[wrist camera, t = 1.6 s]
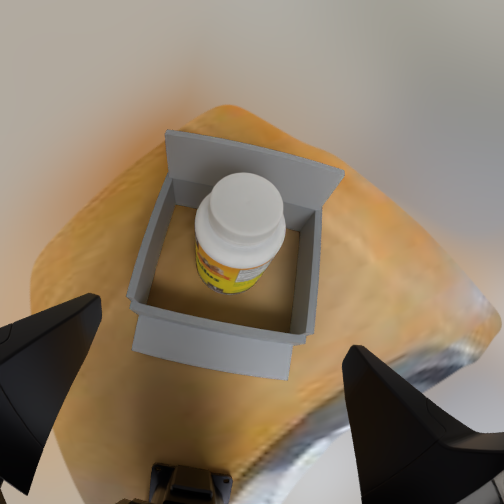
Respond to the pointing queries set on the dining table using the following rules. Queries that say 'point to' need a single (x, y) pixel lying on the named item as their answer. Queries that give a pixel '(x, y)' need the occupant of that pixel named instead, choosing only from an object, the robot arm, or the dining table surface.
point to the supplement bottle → (238, 232)
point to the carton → (191, 195)
